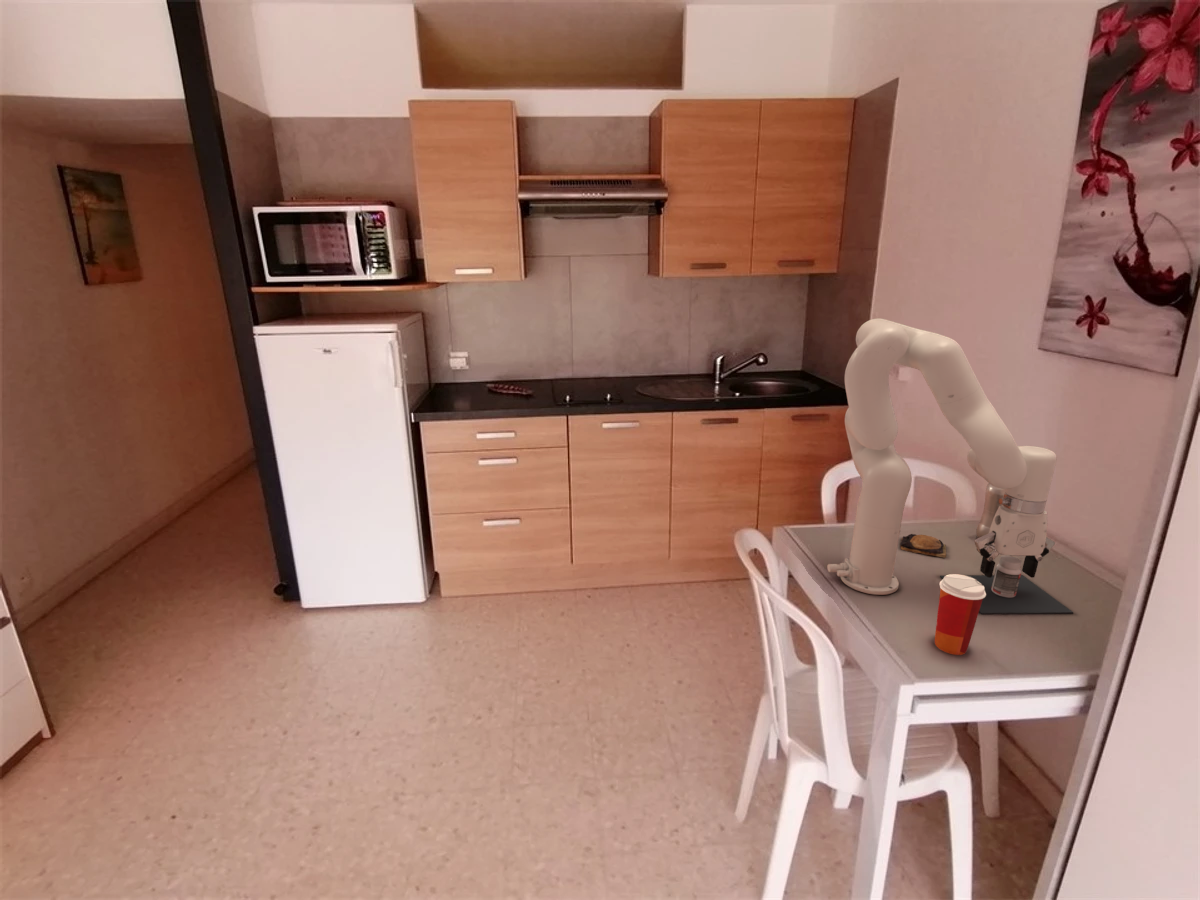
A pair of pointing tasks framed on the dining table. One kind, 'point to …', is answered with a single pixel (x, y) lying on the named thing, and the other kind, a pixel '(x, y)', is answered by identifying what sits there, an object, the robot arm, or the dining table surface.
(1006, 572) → the pill bottle
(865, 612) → the dining table surface
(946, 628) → the paper cup
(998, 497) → the plastic bottle
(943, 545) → the bread roll
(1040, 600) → the mat
